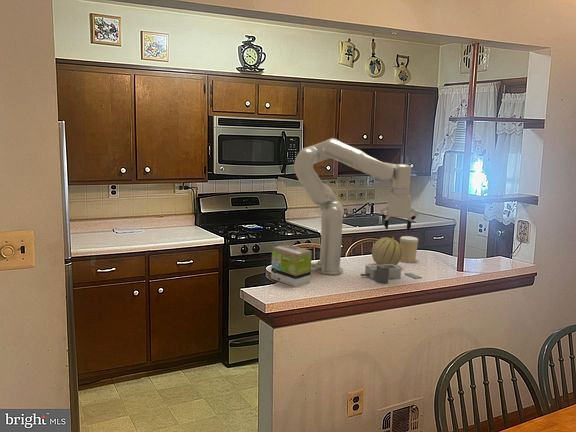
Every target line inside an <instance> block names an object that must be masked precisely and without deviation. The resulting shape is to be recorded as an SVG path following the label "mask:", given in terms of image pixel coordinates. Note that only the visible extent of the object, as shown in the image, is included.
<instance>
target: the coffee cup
mask: <svg viewBox="0 0 576 432" xmlns="http://www.w3.org/2000/svg"><path fill="white" fill-rule="evenodd" d="M399 244H400V245H401V247H402V258H401V261H400V262H402V261H403V263H415V262H416V258H417V257H416V256H417V252H418V245H419V238H418V237H415V236H412V235H411V236H410V235H409V236H408V235H405V236H404V235H403V236H401V237H400V238H399Z"/></svg>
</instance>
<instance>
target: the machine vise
mask: <svg viewBox="0 0 576 432" xmlns="http://www.w3.org/2000/svg"><path fill="white" fill-rule="evenodd" d="M384 265H385V266H387V267H388V268H389V276H388V280H390V279H391V278H393V279H401V277H402V275H401V274H402V268H401V267H399V266H397V265H394V264H382V265H379V264H365V268H364V269H365V271H364V273H360V277H368V278H369V279H371V280H373V281H374V280H375V281H376V269H377V266H384Z"/></svg>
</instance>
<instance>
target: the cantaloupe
mask: <svg viewBox="0 0 576 432" xmlns="http://www.w3.org/2000/svg"><path fill="white" fill-rule="evenodd" d="M371 256H372V259H373V261H374V262H375V263H376V265H382V264H394V265H396V266H397V265H398V264H399V263H400V262H401V261H400V260H401V258H402V247H401V245H400V242H398V240H396V239H395V236H392V237H387V236H385V237H381V238H379V239H378V240H376V241H375V242H374V244H373V245H372V249H371Z"/></svg>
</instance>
